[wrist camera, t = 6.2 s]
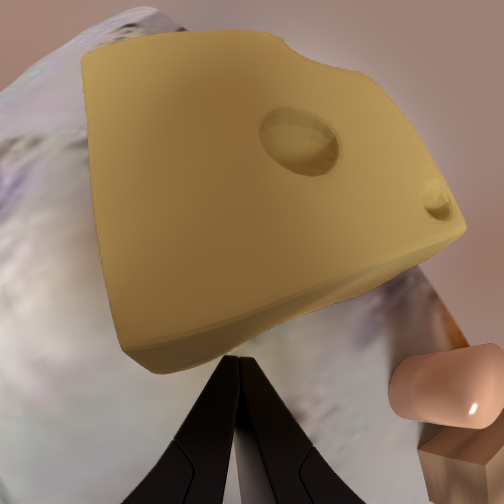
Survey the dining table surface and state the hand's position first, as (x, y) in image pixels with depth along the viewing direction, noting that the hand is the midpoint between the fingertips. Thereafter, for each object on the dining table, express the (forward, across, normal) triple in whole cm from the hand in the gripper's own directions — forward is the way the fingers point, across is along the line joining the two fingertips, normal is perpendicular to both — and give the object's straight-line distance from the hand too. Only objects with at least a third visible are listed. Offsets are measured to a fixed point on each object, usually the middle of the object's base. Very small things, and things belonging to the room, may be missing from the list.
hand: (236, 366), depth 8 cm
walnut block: (0, -15, +9) cm, 18 cm away
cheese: (+9, 0, 0) cm, 9 cm away
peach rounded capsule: (+4, -11, +6) cm, 13 cm away
